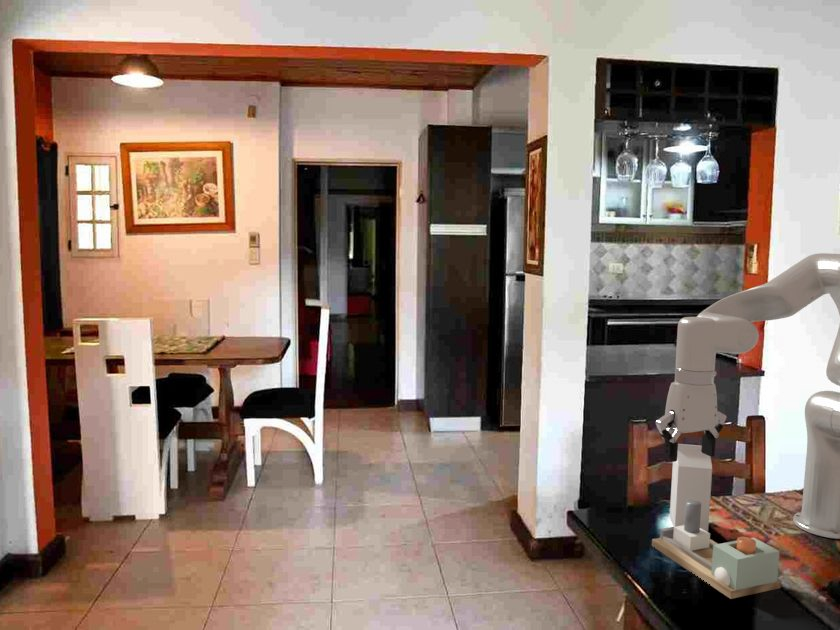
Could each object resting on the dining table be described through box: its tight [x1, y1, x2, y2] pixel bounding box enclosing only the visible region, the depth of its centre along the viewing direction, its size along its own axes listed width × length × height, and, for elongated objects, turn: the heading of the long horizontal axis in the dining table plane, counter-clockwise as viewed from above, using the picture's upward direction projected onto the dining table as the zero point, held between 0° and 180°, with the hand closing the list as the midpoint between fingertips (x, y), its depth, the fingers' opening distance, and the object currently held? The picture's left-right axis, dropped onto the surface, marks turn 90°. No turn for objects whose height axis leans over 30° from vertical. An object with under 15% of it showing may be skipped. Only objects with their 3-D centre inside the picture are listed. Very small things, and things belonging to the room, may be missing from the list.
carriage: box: [673, 500, 711, 551], centre depth 139 cm, size 5×5×9 cm
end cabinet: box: [711, 537, 780, 599], centre depth 126 cm, size 10×6×8 cm, turn 109°
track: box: [651, 525, 782, 600], centre depth 134 cm, size 12×22×4 cm, turn 19°
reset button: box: [736, 536, 756, 555], centre depth 126 cm, size 3×3×3 cm
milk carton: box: [669, 443, 713, 533], centre depth 152 cm, size 7×7×19 cm
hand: (689, 457), depth 139 cm, fingers open, 9 cm apart
